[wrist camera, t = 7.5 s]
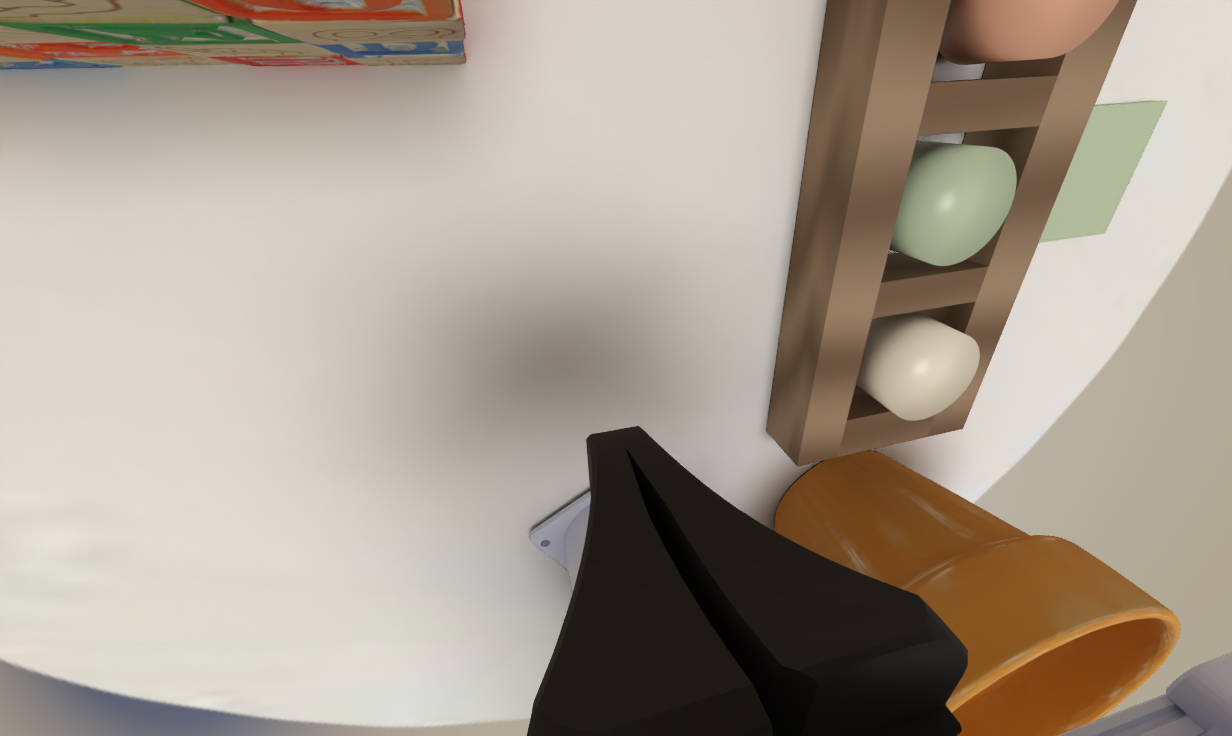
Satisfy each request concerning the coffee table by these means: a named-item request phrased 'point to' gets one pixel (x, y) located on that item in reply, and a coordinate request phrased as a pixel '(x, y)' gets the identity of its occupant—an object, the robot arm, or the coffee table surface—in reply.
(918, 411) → the cream button
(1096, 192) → the colour card
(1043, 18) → the terracotta button
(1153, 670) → the flower pot
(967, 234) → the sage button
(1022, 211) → the wooden compartment tray
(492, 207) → the coffee table surface
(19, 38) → the stack of blocks
